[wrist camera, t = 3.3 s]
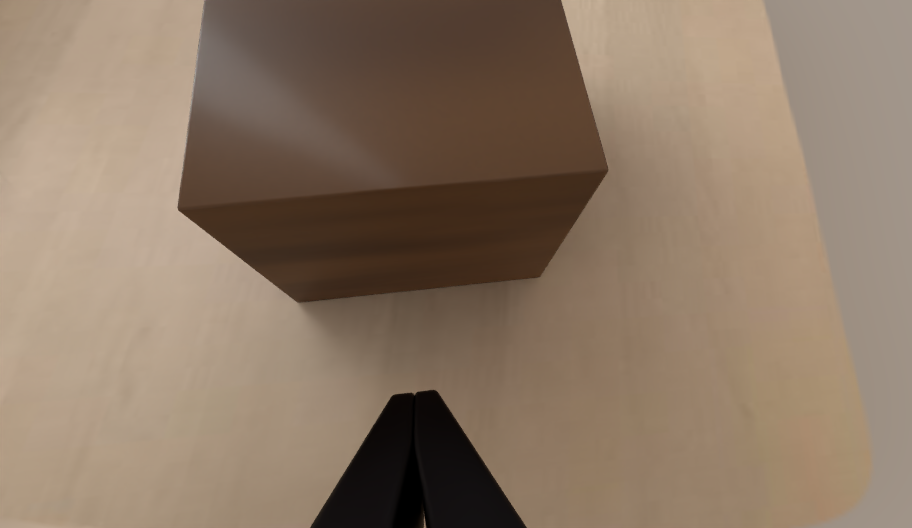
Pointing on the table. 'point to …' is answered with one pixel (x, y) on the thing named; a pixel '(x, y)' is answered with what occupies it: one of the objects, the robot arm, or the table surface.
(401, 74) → the box
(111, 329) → the table surface
